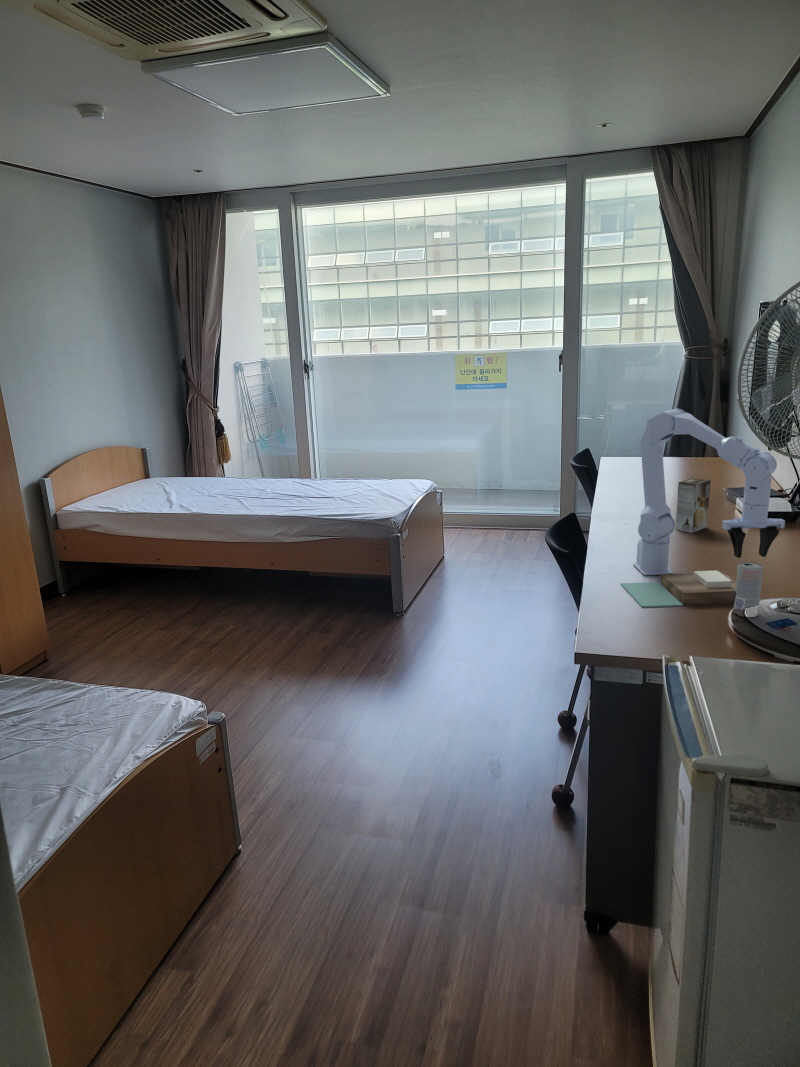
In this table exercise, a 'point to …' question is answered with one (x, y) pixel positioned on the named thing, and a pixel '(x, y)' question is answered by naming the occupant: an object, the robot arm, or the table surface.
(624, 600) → the table surface
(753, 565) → the energy drink
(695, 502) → the coffee box
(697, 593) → the block
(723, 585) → the cream tile
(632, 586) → the teal mat
